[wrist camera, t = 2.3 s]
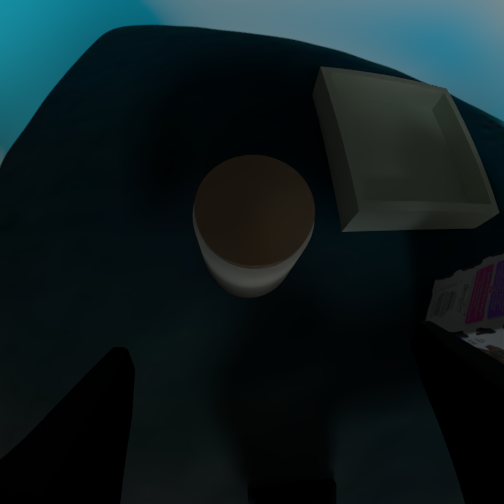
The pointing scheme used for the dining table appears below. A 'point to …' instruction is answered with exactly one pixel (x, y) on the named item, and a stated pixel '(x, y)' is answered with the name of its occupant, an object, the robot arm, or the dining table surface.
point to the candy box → (472, 304)
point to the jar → (252, 223)
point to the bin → (399, 154)
